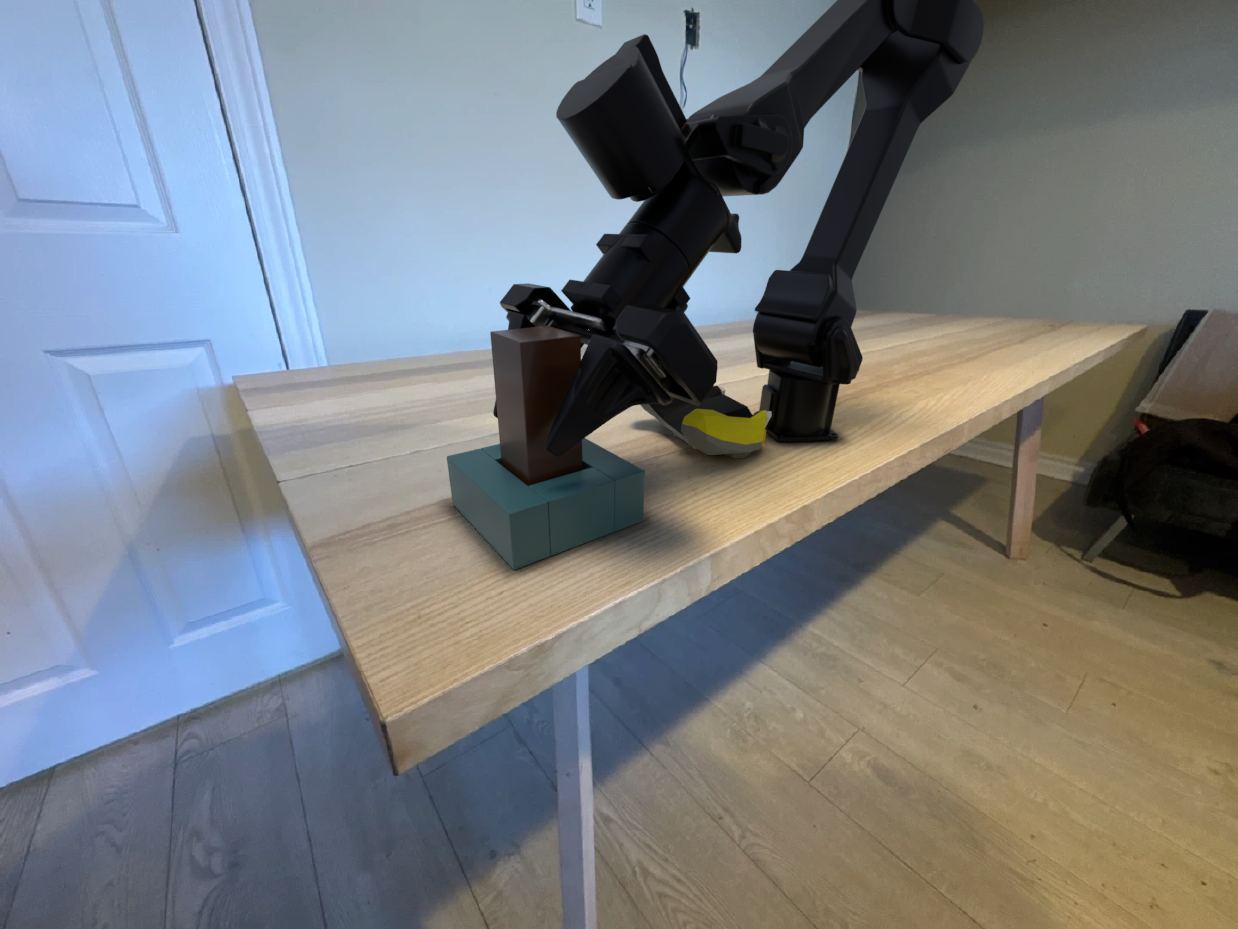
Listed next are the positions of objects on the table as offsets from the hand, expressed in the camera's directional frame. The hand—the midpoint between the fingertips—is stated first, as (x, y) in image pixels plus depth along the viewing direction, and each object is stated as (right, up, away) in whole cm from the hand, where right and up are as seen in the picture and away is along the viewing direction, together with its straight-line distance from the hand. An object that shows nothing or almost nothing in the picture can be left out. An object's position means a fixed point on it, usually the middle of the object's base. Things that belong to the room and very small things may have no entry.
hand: (522, 434), depth 34 cm
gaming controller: (+14, 0, +17) cm, 22 cm away
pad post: (+1, -6, +3) cm, 7 cm away
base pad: (+1, -6, +3) cm, 7 cm away
